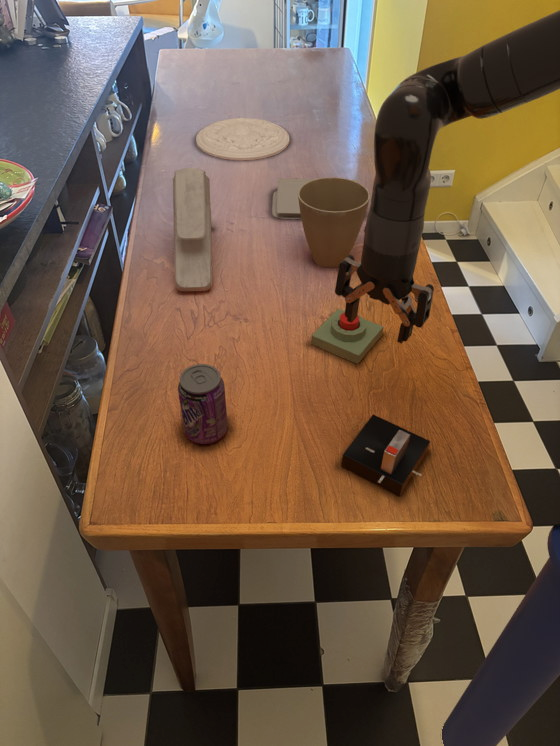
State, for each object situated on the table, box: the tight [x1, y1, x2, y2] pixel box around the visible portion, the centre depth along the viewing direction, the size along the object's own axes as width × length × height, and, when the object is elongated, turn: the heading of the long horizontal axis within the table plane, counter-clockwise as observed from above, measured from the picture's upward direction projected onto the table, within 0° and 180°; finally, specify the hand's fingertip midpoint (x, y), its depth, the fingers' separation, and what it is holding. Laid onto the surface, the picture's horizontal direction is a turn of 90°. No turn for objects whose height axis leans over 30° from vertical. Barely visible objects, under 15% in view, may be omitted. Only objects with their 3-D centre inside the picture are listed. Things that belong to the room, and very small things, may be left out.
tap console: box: [341, 414, 431, 497], centre depth 93 cm, size 12×12×3 cm
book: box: [271, 178, 359, 220], centre depth 152 cm, size 15×23×4 cm, turn 89°
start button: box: [339, 313, 360, 331], centre depth 112 cm, size 4×4×2 cm
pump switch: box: [311, 308, 384, 365], centre depth 114 cm, size 10×10×4 cm
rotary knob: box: [380, 430, 410, 475], centre depth 89 cm, size 5×2×5 cm, turn 146°
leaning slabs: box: [172, 167, 213, 292], centre depth 132 cm, size 8×24×23 cm
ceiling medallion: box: [195, 117, 290, 161], centre depth 180 cm, size 28×28×3 cm
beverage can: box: [177, 363, 228, 445], centre depth 94 cm, size 7×7×12 cm
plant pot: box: [298, 176, 371, 269], centre depth 130 cm, size 15×15×16 cm
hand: (376, 329), depth 92 cm, fingers open, 8 cm apart
